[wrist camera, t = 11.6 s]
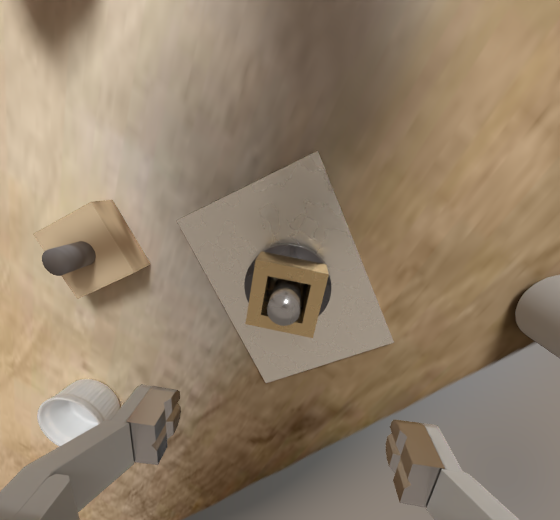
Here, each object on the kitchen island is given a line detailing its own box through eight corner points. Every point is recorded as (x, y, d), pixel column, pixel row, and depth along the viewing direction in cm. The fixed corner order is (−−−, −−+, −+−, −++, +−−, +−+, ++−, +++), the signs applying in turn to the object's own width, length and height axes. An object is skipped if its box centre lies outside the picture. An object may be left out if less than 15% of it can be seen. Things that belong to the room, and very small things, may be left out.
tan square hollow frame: (261, 251, 26) (255, 259, 23) (326, 264, 26) (328, 274, 23) (251, 309, 28) (245, 324, 25) (312, 322, 28) (312, 338, 25)
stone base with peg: (180, 219, 29) (139, 231, 22) (317, 151, 26) (321, 139, 18) (266, 377, 34) (256, 430, 26) (391, 337, 30) (417, 385, 23)
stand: (58, 229, 30) (-3, 240, 24) (112, 199, 29) (61, 204, 23) (97, 288, 32) (50, 313, 26) (150, 264, 31) (112, 284, 25)
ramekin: (88, 430, 39) (63, 459, 35) (53, 384, 37) (22, 409, 33) (136, 415, 38) (115, 444, 34) (102, 366, 36) (75, 390, 32)
